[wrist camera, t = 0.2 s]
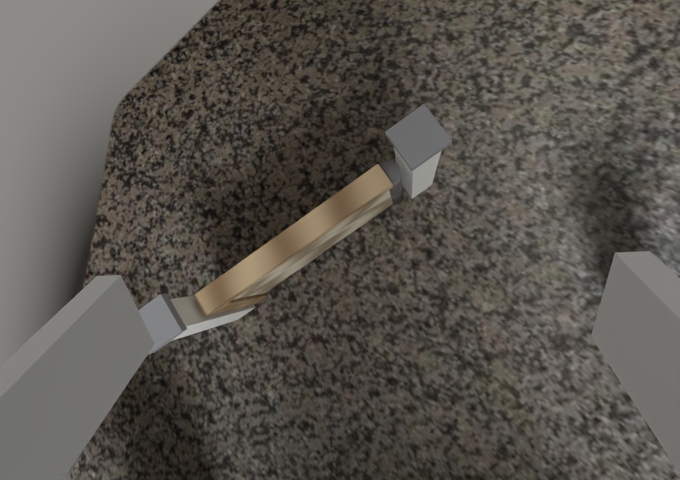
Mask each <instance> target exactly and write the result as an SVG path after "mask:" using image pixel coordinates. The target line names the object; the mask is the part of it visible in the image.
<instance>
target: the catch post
mask: <svg viewBox="0 0 680 480" xmlns="http://www.w3.org/2000/svg"><path fill="white" fill-rule="evenodd" d="M254 308H255V305H254V304H252V305H248V306H244V307H240V308H236V309H232V310H228V311H224V312H220V313H216V314H212V315H208V316H205V314H204V312H203V311H202V309H201V307H200V305H199V304H198V302H197V300H196V299H195V297H194V296H189V297H182V298H175V299H170V298H169V296H168V295H167V293H166V294H160V295H159V296H157V297H156V298H155V299H153V300H152V301H151V302H149V303H148V304H146V305H145V306H144V307H142V308H141V309H139V310H138V311H139V313H140V315H141V317H142V319H143V322H144V324H145V326H146V328H147V330H148V332H149V334H150V336H151V338H152V340H153V342H154V344H155V345H154V346H153V348H152V349H151V350H150V352H149V353H148V354H151V353H154V352H156V351H157V350H159V349H160V348H162V347H163V346H164V345H166V344H167V343H169V342H170V341H172V340H176V339H179V338H182V337H185V336H188V335H191V334H194V333H197V332H201V331H204V330H207V329H210V328H213V327H216V326H219V325H222V324H226V323H229V322H232V321H235V320H238V319H240V318H241V317H242V316H244V315H245V314H247V313H248V312H250V311H251V310H253V309H254Z"/></svg>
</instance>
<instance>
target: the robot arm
mask: <svg viewBox="0 0 680 480" xmlns="http://www.w3.org/2000/svg"><path fill="white" fill-rule="evenodd" d="M591 337H592V338H593V340H594V342H595V343H596V345H597V346H598V348H599V349H600V351H601V352H602V354H603V356H604V357H605V359H606V360H607V362H608V363H609V365H610V366H611V368H612V369H613V371H614V373H615V374H616V376H617V377H618V379H619V380H620V382H621V383H622V385H623V386H624V388H625V390H626V391H627V393H628V394H629V396H630V397H631V399H632V400H633V402H634V403H635V405H636V407H637V408H638V410H639V411H640V413H641V414H642V416H643V417H644V419H645V420H646V422H647V424H648V425H649V427H650V428H651V430H652V431H653V433H654V434H655V436H656V438H657V439H658V441H659V442H660V444H661V445H662V447H663V448H664V450H665V451H666V453H667V455H668V456H669V458H670V459H671V461H672V462H673V464H674V465H675V467H676V468H677V470H678V472H679V473H680V278H679V277H678V276H677V275H676V274H675V273H674V272H673V271H671V270H670V269H669V268H668V267H667V266H666V265H665V264H664V263H662V262H661V261H660V260H659V259H658V258H657V257H656V256H655V255H654V254H652V253H651V252H650V251H640V252H618V253H615V254H614V258H613V261H612V265H611V268H610V272H609V275H608V279H607V282H606V286H605V289H604V293H603V296H602V300H601V303H600V307H599V310H598V314H597V317H596V321H595V324H594V328H593V331H592V335H591ZM154 345H155V344H154V342H153V340H152V338H151V336H150V334H149V332H148V330H147V328H146V326H145V324H144V322H143V319H142V317H141V315H140V313H139V311H138V309H137V307H136V305H135V303H134V301H133V299H132V297H131V295H130V293H129V291H128V289H127V287H126V285H125V283H124V281H123V279H122V277H121V275H112V276H96V277H95V278H94V279H93V280H92V281H91V282H90V283H89V284H88V285H87V286H86V287H85V288H84V289H83V290H81V291H80V292H79V293H78V294H77V295H76V296H75V297H74V298H73V299H72V300H71V301H70V302H69V303H68V304H67V305H65V306H64V307H63V308H62V309H61V310H60V311H59V312H58V313H57V314H56V315H55V316H54V317H53V318H52V319H50V321H48V322H47V324H45V325H44V326H43V327H42V328H41V329H40V330H39V331H38V332H37V333H36V334H34V335H33V336H32V337H31V338H30V339H29V340H28V341H27V342H26V343H25V344H24V345H23V346H22V347H21V348H20V349H18V350H17V351H16V352H15V353H14V354H13V355H12V356H11V357H10V358H9V359H8V360H7V361H6V362H5V363H4V364H3V365H1V366H0V480H63V479H64V477H65V476H66V474H67V473H68V471H69V470H70V469H71V467H72V466H73V464H74V463H75V461H76V460H77V458H78V457H79V455H80V454H81V452H82V451H83V449H84V448H85V446H86V445H87V443H88V442H89V441H90V439H91V438H92V436H93V435H94V433H95V432H96V430H97V429H98V427H99V426H100V424H101V423H102V421H103V420H104V418H105V417H106V415H107V414H108V412H109V411H110V410H111V408H112V407H113V405H114V404H115V402H116V401H117V399H118V398H119V396H120V395H121V393H122V392H123V390H124V389H125V387H126V386H127V384H128V383H129V381H130V380H131V379H132V377H133V376H134V374H135V373H136V371H137V370H138V368H139V367H140V365H141V364H142V362H143V361H144V359H145V358H146V356H147V355H148V353H149V352H150V350H151V349H152V348H153V346H154Z"/></svg>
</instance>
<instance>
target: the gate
mask: <svg viewBox="0 0 680 480" xmlns="http://www.w3.org/2000/svg"><path fill="white" fill-rule="evenodd" d="M402 199H403V190H402V179H401V169H400V167H399V165H398V164H397V163H396V162H394V161H386V162H384V163H382V164H381V165H380V166H379V164H377V165H375V166H374V167H373V168H371V169H370V170H368V171H367V172H366V173H364V174H363V175H361V176H360V177H359V178H357V179H356V180H354V181H353V182H352V183H350V184H349V185H347V186H346V187H345V188H343V189H342V190H340V191H339V192H338V193H336V194H335V195H333V196H332V197H331V198H329V199H328V200H326V201H325V202H324V203H322V204H321V205H319V206H318V207H317V208H315V209H314V210H312V211H311V212H310V213H308V214H307V215H305V216H304V217H303V218H301V219H300V220H298V221H297V222H296V223H294V224H293V225H291V226H290V227H289V228H287V229H286V230H284V231H283V232H282V233H280V234H279V235H277V236H276V237H275V238H273V239H272V240H270V241H269V242H268V243H266V244H265V245H263V246H262V247H261V248H259V249H258V250H256V251H255V252H254V253H252V254H251V255H249V256H248V257H247V258H245V259H244V260H242V261H241V262H240V263H238V264H237V265H235V266H234V267H233V268H231V269H230V270H228V271H227V272H226V273H224V274H223V275H221V276H220V277H219V278H217V279H216V280H214V281H213V282H212V283H210V284H209V285H207V286H206V287H205V288H203V289H202V290H200V291H199V292H198V293H196V294H195V296H194V297H195V299H196V300H197V302H198V304H199V305H200V307H201V309H202V311H203V312H204V314H205V316H208V315H212V314H216V313H220V312H224V311H228V310H232V309H236V308H240V307H244V306H248V305H252V304H256V303H257V302H259V301H260V300H262V299H263V298H265V297H266V296H268V295H267V294H266V292H267V291H269V290H270V289H272V288H273V287H274V286H276V285H277V284H279V283H280V282H282V281H283V280H285V279H286V278H287V277H289V276H290V275H292V274H293V273H295V272H296V271H297V270H299V269H300V268H302V267H303V266H305V265H306V264H307V263H309V262H310V261H312V260H313V259H315V258H316V257H318V256H319V255H320V254H322V253H323V252H325V251H326V250H328V249H329V248H330V247H332V246H333V245H335V244H336V243H338V242H339V241H340V240H342V239H343V238H345V237H346V236H348V235H349V234H351V233H352V232H353V231H355V230H356V229H358V228H359V227H361V226H362V225H363V224H365V223H366V222H368V221H369V220H371V219H372V218H373V217H375V216H376V215H378V214H379V213H381V212H382V211H384V210H385V209H386V208H388V207H389V206H391V205H392V204H398V203H400V202H401V201H402Z"/></svg>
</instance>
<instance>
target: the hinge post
mask: <svg viewBox="0 0 680 480" xmlns="http://www.w3.org/2000/svg"><path fill="white" fill-rule="evenodd" d="M385 135H386V137H387V138H388V140H389V141H390V142H391V144H392V145H393V146H394V151H395V159H396V163H397V164H398V165H399V167H400V169H401V179H402V186H403V187H404V189H405V190H406V191H407V193H408V194H409V196H410V197H411V198H414V197H415V196H417V195H418V194H420V193H421V192H423V191H424V190H425V189H427V188H428V187H430V186H431V185H432V183H433V179H434V175H435V172H436V168H437V165H438V161H439V158H440V154H441V151H442V150H443V149H444V148H446V147H447V146H449V145H450V144H451V143H452V140H451V138H450V137H449V136H448V134H447V133H446V132H445V130H444V129H443V128H442V126H441V125H440V124H439V123H438V121H437V120H436V119H435V117H434V116H433V115H432V113H431V112H430V111H429V109H428V108H427V107H426V106H425V104H423V105H421V106H420V107H419V108H417V109H416V110H414V111H413V112H412V113H410V114H409V115H408V116H406V117H405V118H403V119H402V120H401V121H399V122H398V123H396V124H395V125H394V126H392V127H391V128H390V129H388V130H387V131H385Z"/></svg>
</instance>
